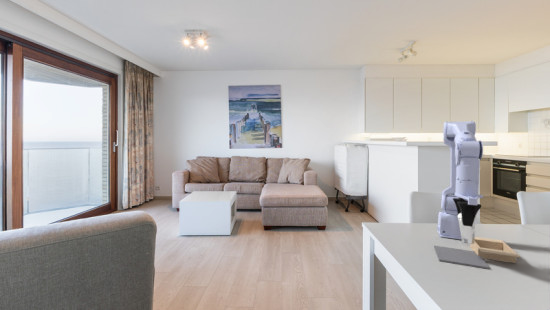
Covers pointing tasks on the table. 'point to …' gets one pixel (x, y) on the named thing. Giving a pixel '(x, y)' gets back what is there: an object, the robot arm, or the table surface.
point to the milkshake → (467, 231)
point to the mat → (460, 257)
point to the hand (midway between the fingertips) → (465, 223)
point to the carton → (494, 250)
